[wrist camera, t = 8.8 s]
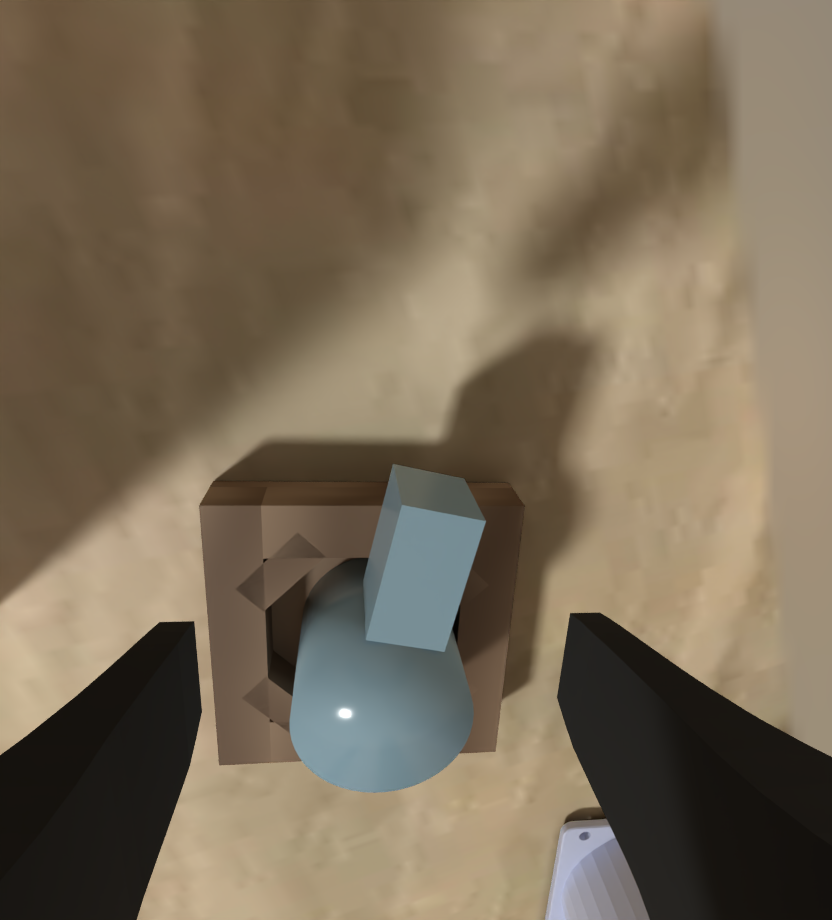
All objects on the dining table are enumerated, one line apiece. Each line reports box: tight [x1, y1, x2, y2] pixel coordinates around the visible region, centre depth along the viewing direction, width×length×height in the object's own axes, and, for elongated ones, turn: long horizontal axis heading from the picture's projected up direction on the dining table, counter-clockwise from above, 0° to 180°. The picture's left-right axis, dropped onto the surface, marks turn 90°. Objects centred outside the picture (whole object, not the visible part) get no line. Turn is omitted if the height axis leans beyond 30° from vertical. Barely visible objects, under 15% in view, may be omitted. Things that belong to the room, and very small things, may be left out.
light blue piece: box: [290, 464, 486, 793], centre depth 19 cm, size 9×5×5 cm, turn 166°
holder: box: [199, 481, 525, 765], centre depth 21 cm, size 10×10×2 cm
